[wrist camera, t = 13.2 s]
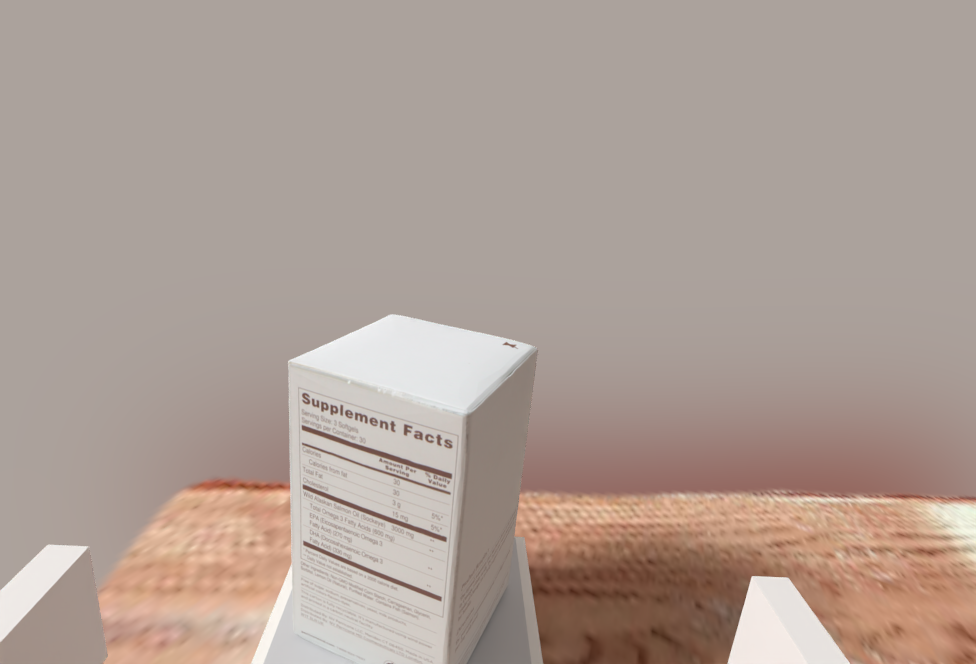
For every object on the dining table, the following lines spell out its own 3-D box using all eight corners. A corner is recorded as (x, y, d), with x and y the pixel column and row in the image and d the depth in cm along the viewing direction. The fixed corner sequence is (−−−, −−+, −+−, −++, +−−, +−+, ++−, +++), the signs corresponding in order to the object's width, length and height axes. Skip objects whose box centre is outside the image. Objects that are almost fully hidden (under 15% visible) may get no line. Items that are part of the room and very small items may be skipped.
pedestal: (519, 574, 33) (525, 531, 32) (547, 802, 22) (558, 745, 21) (307, 563, 32) (307, 518, 31) (222, 793, 21) (218, 734, 20)
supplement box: (382, 536, 31) (392, 309, 27) (512, 586, 28) (545, 343, 24) (285, 637, 24) (280, 356, 20) (443, 714, 22) (473, 409, 18)
